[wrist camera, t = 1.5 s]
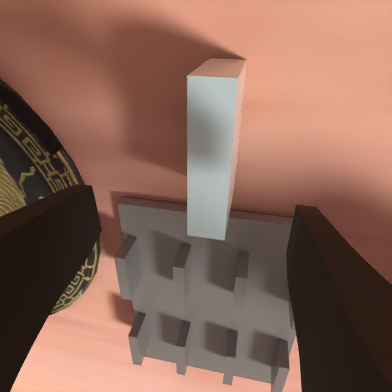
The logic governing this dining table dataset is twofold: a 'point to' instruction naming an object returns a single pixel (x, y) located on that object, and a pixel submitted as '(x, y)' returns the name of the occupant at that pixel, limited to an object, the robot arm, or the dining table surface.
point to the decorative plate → (37, 174)
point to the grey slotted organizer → (207, 291)
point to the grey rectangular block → (212, 144)
